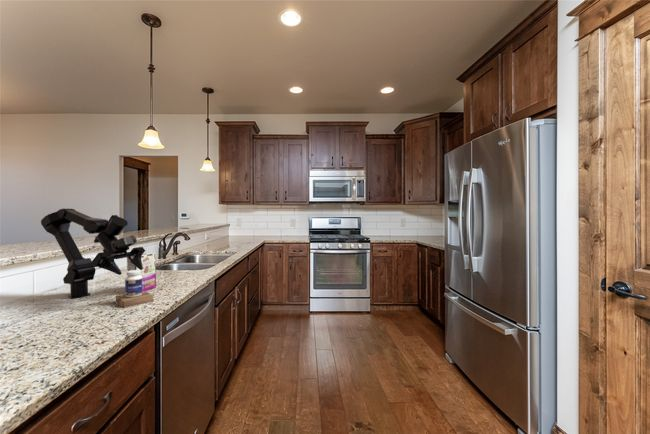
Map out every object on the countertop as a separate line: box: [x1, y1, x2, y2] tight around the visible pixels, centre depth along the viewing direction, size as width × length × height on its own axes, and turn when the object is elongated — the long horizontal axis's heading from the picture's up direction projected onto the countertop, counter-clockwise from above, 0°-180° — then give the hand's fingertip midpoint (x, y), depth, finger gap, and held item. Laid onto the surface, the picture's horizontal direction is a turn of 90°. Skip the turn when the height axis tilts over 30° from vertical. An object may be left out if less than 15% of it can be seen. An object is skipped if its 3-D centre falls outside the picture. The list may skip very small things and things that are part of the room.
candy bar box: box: [126, 252, 157, 292], centre depth 129 cm, size 11×5×16 cm, turn 168°
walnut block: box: [115, 291, 154, 309], centre depth 113 cm, size 10×10×2 cm
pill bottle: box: [124, 270, 142, 297], centre depth 113 cm, size 6×6×10 cm
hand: (131, 271), depth 113 cm, fingers open, 9 cm apart
